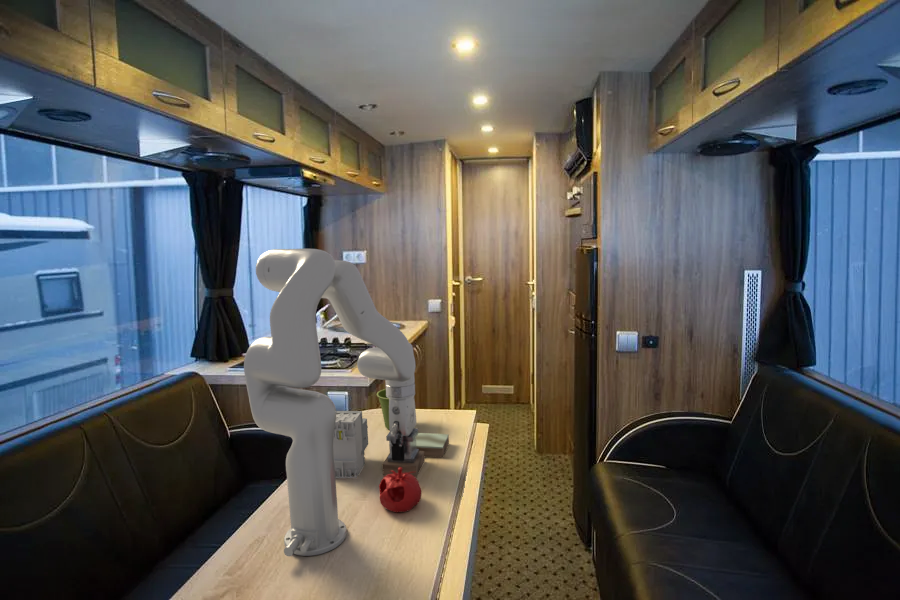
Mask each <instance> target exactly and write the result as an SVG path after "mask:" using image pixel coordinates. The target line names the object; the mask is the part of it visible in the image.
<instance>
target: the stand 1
mask: <svg viewBox="0 0 900 600" xmlns="http://www.w3.org/2000/svg"><path fill="white" fill-rule="evenodd" d="M388 456H389V454H388V455H387V456H386V458H385V459H384V461H383V462H382V464H381V467H382V469H381V470H382V476H386V475H388V474H393V472H392V471H395V472H396V473H398V468H399V467H402V468H403V469H402V473H409V472H414V473H409V474H412V475H413V476H414V477H416V478H418V475H419V474H420V472H421V469H422V467H423V465H424V464H425V459H426V458H425V457H424V451H419V455H418V457H417V458H416V460H415V462H414V463H399V462H388V459H387V457H388ZM391 470H392V471H391ZM389 471H390V472H389ZM415 471H416V472H415Z"/></svg>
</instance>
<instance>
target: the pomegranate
mask: <svg viewBox="0 0 900 600" xmlns="http://www.w3.org/2000/svg"><path fill="white" fill-rule="evenodd" d="M402 469H403V468H402V467H399V468H398V473H396V472H395V471H392V470H391V471H392V472H393V474H388V475H383V477H382V479H381V480H380V483H379V484H378V489H379V502H380V504H381V506H382V507H383V509H386V510H389V511H390V512H393V513H405V512H410V511H412V509H414V507H416V506H417V505H418V504H419V503H420V502H421V499H422V488H421V485H420V483H419V480H418V478H417V477H414V476H413V475H412V474H409V473H414V472H409V473H402ZM389 472H390V471H389ZM415 472H416V471H415Z"/></svg>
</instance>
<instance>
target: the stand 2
mask: <svg viewBox="0 0 900 600" xmlns="http://www.w3.org/2000/svg"><path fill="white" fill-rule="evenodd" d="M449 435H450V434H449V433H430V432H429V433H427V432H418V434H417V436H416V447H417V449H419V451H424V458H427V457H428V458H444V455H445V454H446V452H445V451H447V450H446V449H448V447H449V445H450V437H449ZM448 444H449V445H448Z"/></svg>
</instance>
